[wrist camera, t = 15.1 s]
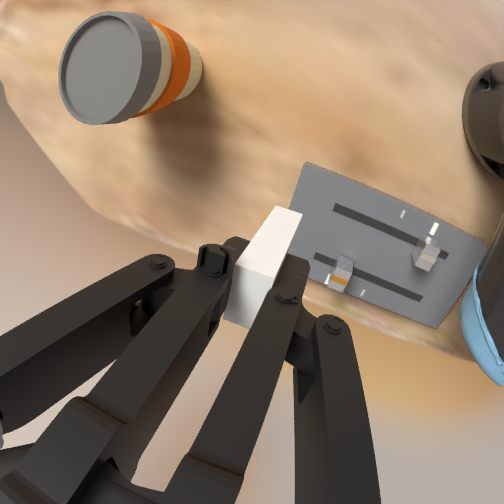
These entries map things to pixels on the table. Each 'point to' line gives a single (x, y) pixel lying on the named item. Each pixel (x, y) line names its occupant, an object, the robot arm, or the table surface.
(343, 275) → the fader
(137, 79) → the reusable coffee cup
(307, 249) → the console
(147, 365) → the robot arm
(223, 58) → the table surface
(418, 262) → the fader
